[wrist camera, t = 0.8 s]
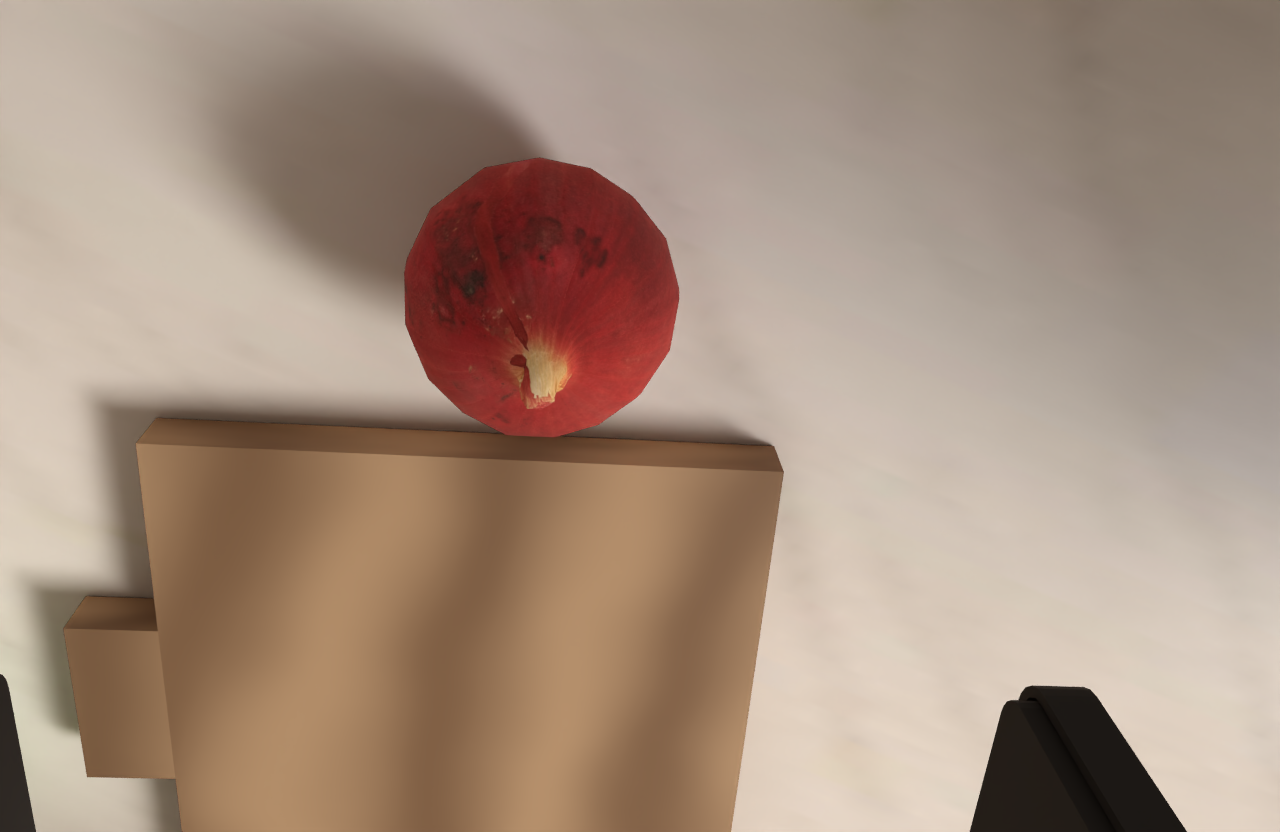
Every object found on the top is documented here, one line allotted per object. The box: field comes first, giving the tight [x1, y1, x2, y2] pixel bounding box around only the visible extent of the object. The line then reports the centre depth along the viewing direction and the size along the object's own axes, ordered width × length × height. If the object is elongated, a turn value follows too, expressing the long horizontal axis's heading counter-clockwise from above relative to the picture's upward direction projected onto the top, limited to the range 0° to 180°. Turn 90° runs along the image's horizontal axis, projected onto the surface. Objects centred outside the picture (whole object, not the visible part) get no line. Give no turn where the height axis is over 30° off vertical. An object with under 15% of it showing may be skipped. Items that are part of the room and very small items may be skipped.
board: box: [63, 418, 784, 832], centre depth 32 cm, size 18×16×2 cm
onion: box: [404, 158, 679, 437], centre depth 24 cm, size 6×6×8 cm
